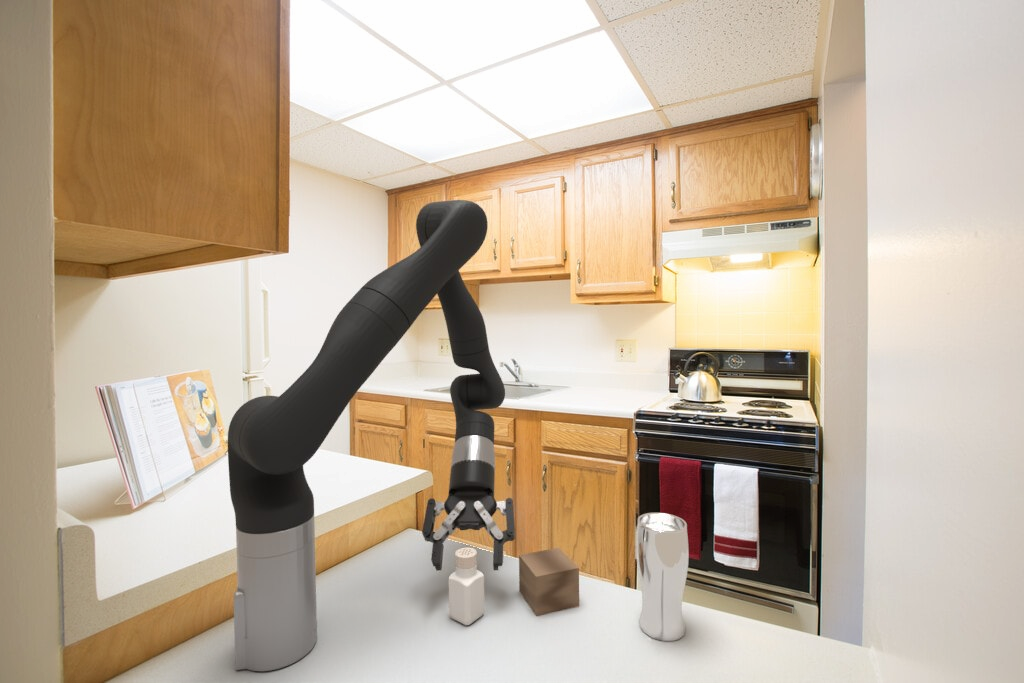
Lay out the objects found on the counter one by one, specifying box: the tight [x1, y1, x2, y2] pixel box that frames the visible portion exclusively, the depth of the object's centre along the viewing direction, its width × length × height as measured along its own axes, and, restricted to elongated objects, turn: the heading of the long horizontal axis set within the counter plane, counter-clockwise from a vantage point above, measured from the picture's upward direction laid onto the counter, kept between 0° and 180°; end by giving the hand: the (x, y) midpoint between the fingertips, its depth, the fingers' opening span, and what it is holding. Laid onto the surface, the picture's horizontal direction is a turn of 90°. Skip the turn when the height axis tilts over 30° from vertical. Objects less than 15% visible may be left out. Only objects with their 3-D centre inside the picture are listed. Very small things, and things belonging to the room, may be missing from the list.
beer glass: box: [635, 512, 690, 642], centre depth 66 cm, size 7×7×15 cm
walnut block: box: [518, 547, 580, 617], centre depth 74 cm, size 7×7×6 cm
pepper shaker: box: [448, 546, 485, 626], centre depth 69 cm, size 4×4×10 cm
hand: (467, 568), depth 70 cm, fingers open, 8 cm apart
